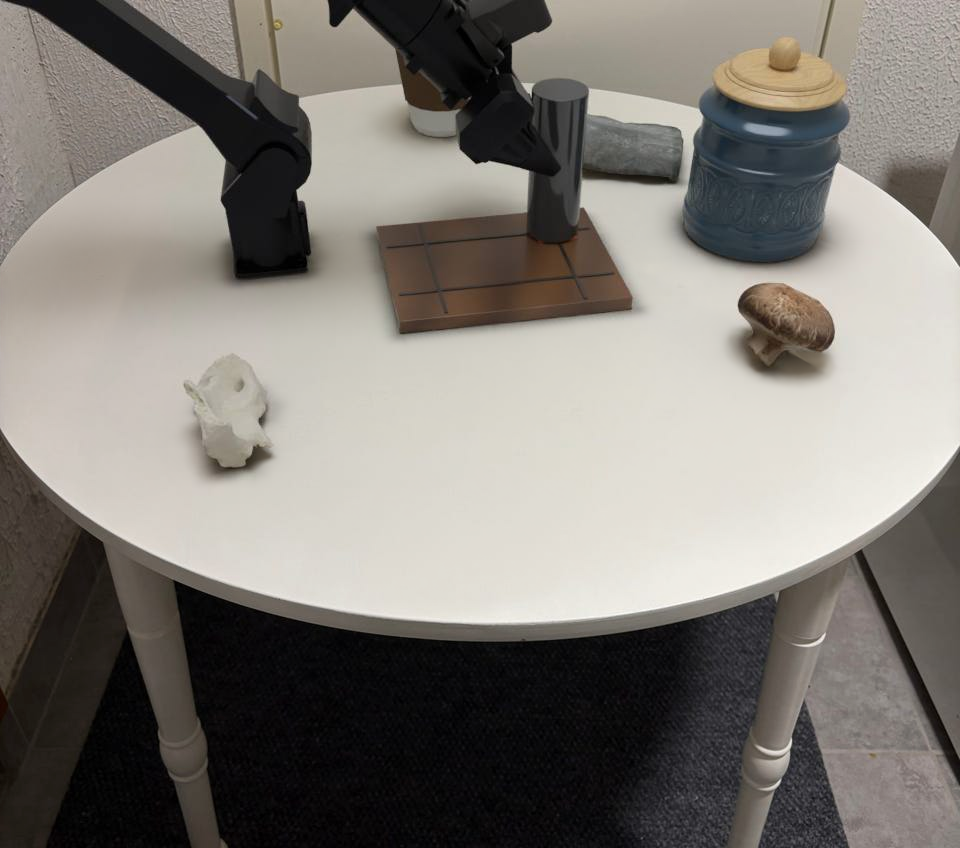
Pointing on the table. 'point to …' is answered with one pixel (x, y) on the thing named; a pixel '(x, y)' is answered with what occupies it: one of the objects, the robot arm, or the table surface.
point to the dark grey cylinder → (558, 159)
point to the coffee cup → (427, 104)
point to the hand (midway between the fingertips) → (548, 147)
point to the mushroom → (784, 320)
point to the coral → (229, 410)
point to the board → (495, 273)
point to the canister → (765, 154)
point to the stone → (632, 147)
